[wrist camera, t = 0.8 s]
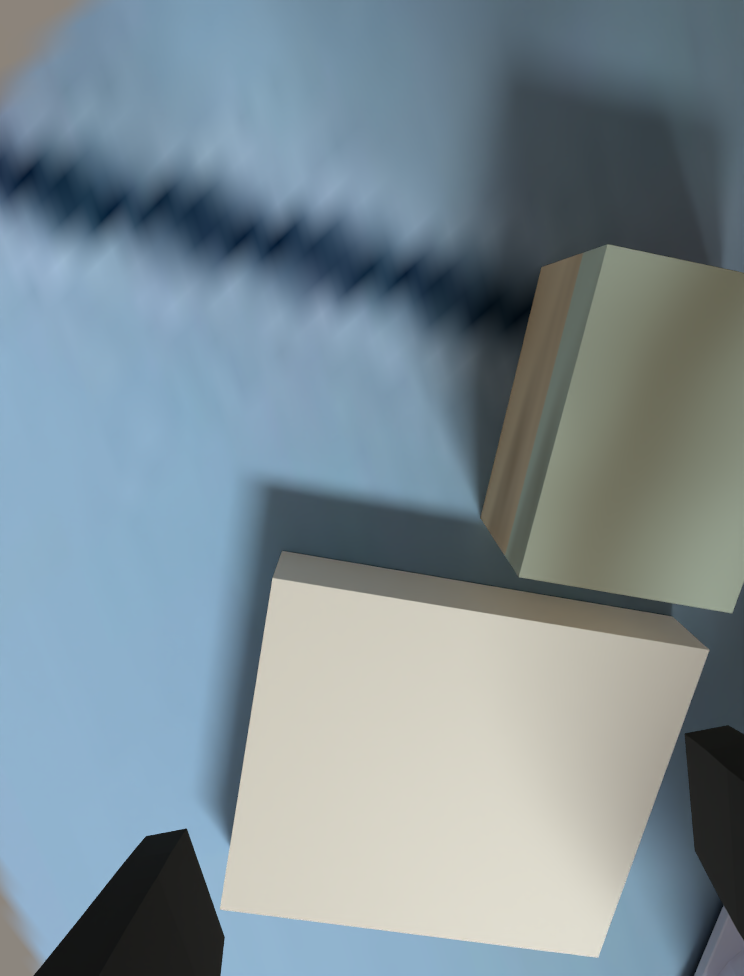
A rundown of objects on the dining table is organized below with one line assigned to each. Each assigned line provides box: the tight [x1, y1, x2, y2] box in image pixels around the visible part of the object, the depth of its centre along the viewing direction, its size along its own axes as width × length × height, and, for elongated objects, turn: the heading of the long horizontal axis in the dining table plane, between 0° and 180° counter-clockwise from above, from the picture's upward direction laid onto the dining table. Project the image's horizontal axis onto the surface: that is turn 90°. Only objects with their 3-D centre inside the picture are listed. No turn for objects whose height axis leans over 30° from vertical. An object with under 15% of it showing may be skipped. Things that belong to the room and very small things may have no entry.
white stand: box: [220, 551, 709, 958], centre depth 18 cm, size 12×11×2 cm
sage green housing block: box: [481, 244, 744, 613], centre depth 15 cm, size 5×7×4 cm
